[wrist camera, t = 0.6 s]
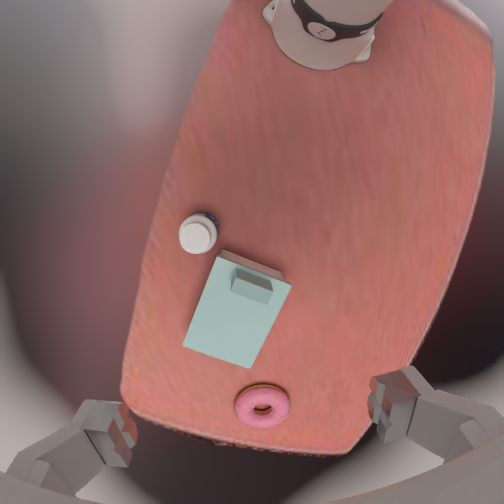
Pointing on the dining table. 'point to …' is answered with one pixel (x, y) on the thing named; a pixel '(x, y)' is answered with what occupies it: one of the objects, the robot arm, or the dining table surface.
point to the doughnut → (262, 396)
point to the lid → (235, 312)
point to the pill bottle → (199, 232)
